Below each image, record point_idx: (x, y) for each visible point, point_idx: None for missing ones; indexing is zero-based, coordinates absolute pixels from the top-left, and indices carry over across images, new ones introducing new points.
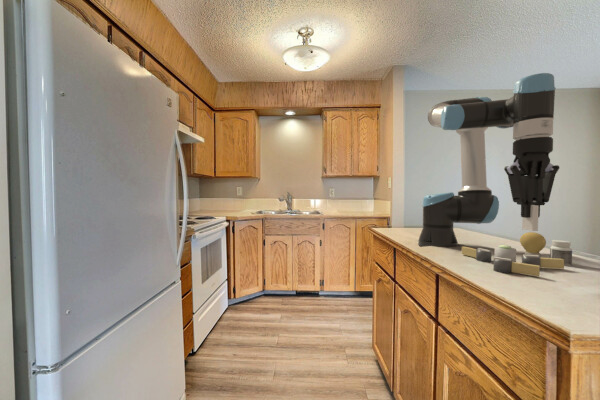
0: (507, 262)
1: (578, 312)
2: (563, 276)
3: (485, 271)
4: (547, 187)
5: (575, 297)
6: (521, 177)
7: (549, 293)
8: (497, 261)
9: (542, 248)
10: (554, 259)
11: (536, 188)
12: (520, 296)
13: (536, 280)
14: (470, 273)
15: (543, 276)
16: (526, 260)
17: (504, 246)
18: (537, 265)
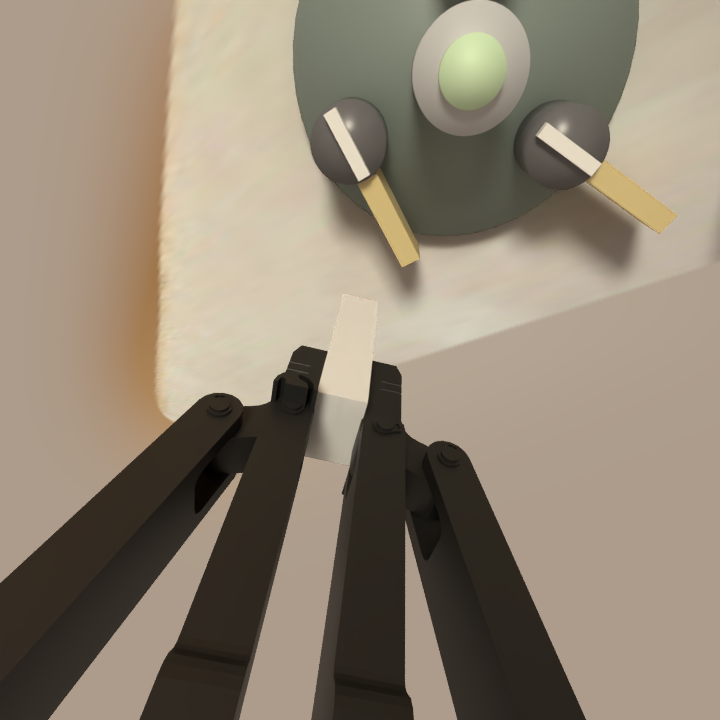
0: (334, 180)
1: (263, 385)
2: (593, 225)
3: None
4: (434, 626)
5: None
6: (59, 702)
7: (326, 307)
8: (311, 144)
9: None
10: (630, 211)
11: (331, 588)
12: (219, 294)
13: None
14: (241, 49)
15: None
16: (523, 147)
17: (455, 79)
18: (414, 254)
